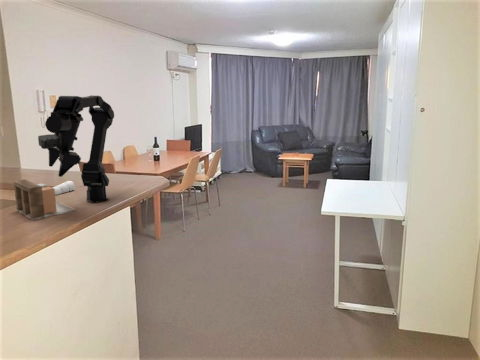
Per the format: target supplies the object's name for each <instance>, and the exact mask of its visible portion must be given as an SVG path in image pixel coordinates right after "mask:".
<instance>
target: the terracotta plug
mask: <svg viewBox="0 0 480 360" xmlns="http://www.w3.org/2000/svg"><path fill="white" fill-rule="evenodd" d="M42 195H43V205H44V214H45V213H50V212H55V211H56V202H57V201H56V195H55V189H54V188H53V187H52V186H47V187H45V188H42Z"/></svg>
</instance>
